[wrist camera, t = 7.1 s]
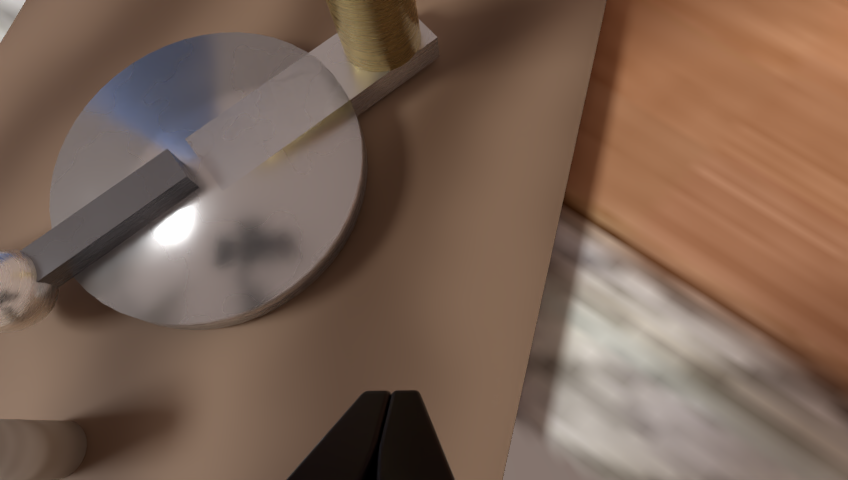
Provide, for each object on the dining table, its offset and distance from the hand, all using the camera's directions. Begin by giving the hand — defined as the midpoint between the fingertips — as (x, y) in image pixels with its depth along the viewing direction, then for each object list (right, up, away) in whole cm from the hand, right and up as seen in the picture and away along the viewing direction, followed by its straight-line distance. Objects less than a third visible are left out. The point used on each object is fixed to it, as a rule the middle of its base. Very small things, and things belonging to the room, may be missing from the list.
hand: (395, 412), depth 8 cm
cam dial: (-6, +5, +10) cm, 13 cm away
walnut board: (-6, +4, +11) cm, 13 cm away
